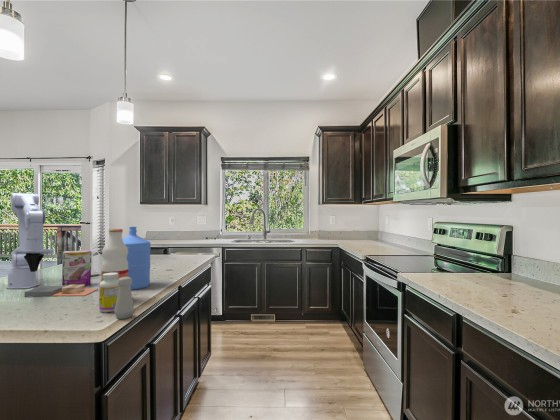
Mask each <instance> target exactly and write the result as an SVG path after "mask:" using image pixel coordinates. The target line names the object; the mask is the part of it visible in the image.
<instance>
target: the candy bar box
mask: <svg viewBox="0 0 560 420" xmlns="http://www.w3.org/2000/svg"><path fill="white" fill-rule="evenodd" d="M92 254H93V253H92V251H91V250H90V249H89V250H69V251H62V268H61V286H62V285H67V286H68V285H82V284H85V287H89V286H91V282H92V281H91V280H92V279H91V277H92Z"/></svg>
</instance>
